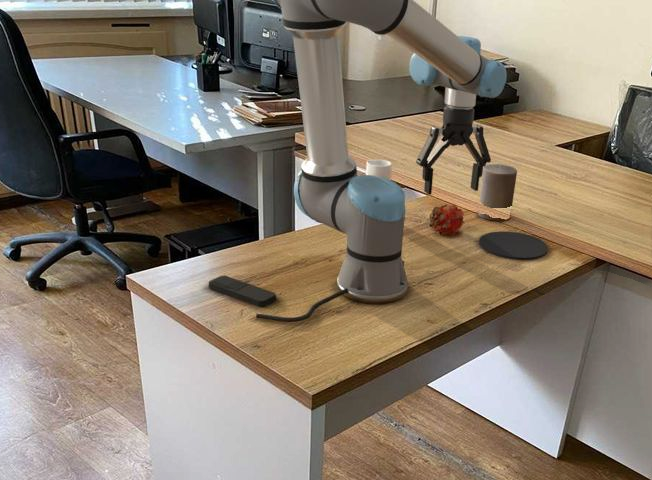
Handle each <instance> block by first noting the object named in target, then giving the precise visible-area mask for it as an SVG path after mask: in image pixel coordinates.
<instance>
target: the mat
mask: <svg viewBox="0 0 652 480" xmlns="http://www.w3.org/2000/svg"><path fill="white" fill-rule="evenodd" d="M478 245H479V246H480V248H481V249H482V250H484V251H485V252H487V253H488V254H491V255H493V256H496V257H500V258H503V259H509V260H518V261H530V260H536V259H540V258H543V257H545V256H546V255H547V254H548V252H549V247H548V245H547V244H546V242H544V241H543V240H542V239H539V238H537V237H536V236H533V235H529V234H526V233H521V232H516V231H515V232H514V231H491V232H488V233H484V234H483V235H481V236H480V237H479V239H478Z"/></svg>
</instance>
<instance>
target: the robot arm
mask: <svg viewBox="0 0 652 480" xmlns="http://www.w3.org/2000/svg"><path fill="white" fill-rule="evenodd" d="M271 1H272V2H273V3H274V5H276V7H277V8H278V9H280V10H281V16H282V18H281V19H282V25H283V29H285V30H286V31H287V32H288V33H289V34H290V35H292V40H293V48H294V58H295V66H296V73H297V81H298V91H299V99H300V108H301V117H302V123H303V133H304V141H305V142H304V143H305V150H306V158H305V160H303V162H302V163H301V165H300V168H301V169H300V171H299V172H298V174H297V176H296V177H297V179H296V180H295V181H294V185H293V197H294V200H295V204H296V206H297V208H298V209H299V210H300V212H302V213H303V214H304V215H305V216H307V217H308V218H310V219H311V220H312V221H315V222H316V223H319V224H322V225H325V226H327V227H330V229H333V230H336V231H338V232H341V233H342V234H344V235H346V255H345V257H344V260H343V262H342V265H341V268H340V271H339V273H338V276H337V280H336V281H337V285H336V287H337V288H336V289H337V290H338V291H337V292H335V293H333V294H330V295H329V296H326V297H324V298H322V299H320V300H319V301H317V302H315V303H313V304H312V305H311V307H310V308H309V309H308V311H307V312H306V313H305V314H303V315H300V316H294V317H293V316H292V317H291V316H290V317H289V316H287V317H286V316H278V315H271V314H264V313H256V314H255V318H256V319H260V320H261V319H262V320H268V321H273V322H279V323H280V322H282V323H297V322H302V321H305V320H308V319H309V318H310V317H311V316H313V313H314V312H315V310H317V309H318V308H319V307H321V306H322V305H325V304H326V303H329V302H331V301H333V300H336V299H337V298H339V297H342V296H344V297H345V298H347V299H349V300H352V301H355V302H359V303H364V304H388V303H393V302H396V301H398V300H401V299H402V298H404V297H405V296H406V295H407V293H408V288H409V287H408V286H409V282H408V281H409V280H408V276H407V274H406V269H405V260H403V258H402V251H403V241H404V229H405V220H406V219H405V218H406V195H405V194H406V193H405V191H404V190H403V188H402V187H401V186H400V185H399V184H398V183H397V182H395V181H393V180H392V179H391V180H389V179H386V178H383V177H376V176H373V175H366V174H362V175H358V167H357V161H356V159H354V158H353V157H352V156H351V155H349V146H348V134H347V132H348V131H347V122H346V107H345V99H344V98H345V96H344V85H343V74H342V73H343V72H342V71H343V70H342V61H341V47H340V37H339V35H340V32H341V31H342V30H343V29H344V27H345V26H346V24H347V23H350V24H354V25H357V26H361V27H363V28H364V29H365V28H366V29H367V30H369V31H371V32H372V33H374V34H376V35H378V36H387V37H389V38H391V39H392V40H394V41H395V42H397V43H398V44H400V45H401V46H403V47H404V48H406V49H407V50H408V51H409V52H411V53H412V55H411V57H410V60H409V74H410V76H411V79H412V80H413V82H414V83H416V84H417V85H419V86H427V87H430V86H432V85H434V86H439V87H444V88H445V89H444V101H443V102H444V104H445V105H444V107H443V114H442V126H441V127H437V126H435V125H431V126H430V129H429V135H428V137H427V139H426V140H425V143H424V145H423V147H422V149H421V150H420V152H419V153H418V154H419V155H418V156H417V158H416V161H415V164H417V165H418V166H420V167H422V174H421V175H422V176H421V177H422V178H421V179H422V180H423V181H424V186H423V187H424V188H423V192H424V193H426V194H427V195H432V193H433V192H432V191H433V178H434V168H433V167H432V166H433V165H434V164H435V163H436V161H437V160H438V159H439V158H440V157H441V155H442V154H443V153H444V151H446V149H448V148H449V147H450V146H451V147H455V146H465V147H466V149H467V150H468V152H469V153H470V155H471V156H472V158H473V159H474V161H475V162H473V163H472V168H471V169H472V170H471V181H470V189H472V190H473V191H475V192H478V191H479V184H480V178H482V174H483V166H485V165H487V164H488V163H491V161H492V158H491V155H490V152H489V148H488V146H487V142H486V140H485V136H484V127H483V126H482V125H480V124H475V125H474V126H473V123H474V120H475V119H474V118H475V108H474V107H475V106H476V102H477V101H476V99H477V96H479V97H480V98H490V99H494V98H496V97H499V95H500V94H502V92H503V91H504V88H505V85H506V83H507V78H508V77H507V75H508V73H507V69H506V67H505V65H504V64H503V63H502V62H501V61H498V60H495V59H493V58H491V59H489V58H486V57H484V56H483V55H482V54H481V50H482V48H481V47H482V43H481V40H480V39H478V38H476V37H472V36H465V35H462V36H461V35H457V34H456V33H454V32H453V31H452V30H450V29H449V28H448V27H447V26H446V25H445V24H443V23H442V22H441V21H440V20H438V19H437V18H436V17H435V16H433V15H432V14H431V13H430V12H429V11H427V10H426V9H425V8H423V6H421V5H420V4H419V3H417V1H415V0H271ZM346 22H347V23H346ZM472 135H474V136H475V138H474V139H475V141H476V143H477V147H478V149H477V148H476V146H475V144H474V143H473V140H472V139H471V136H472ZM440 136H441V137H440ZM439 137H440V139H439V140H438V138H439ZM437 141H438V143H437ZM436 143H437V144H436Z"/></svg>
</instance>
